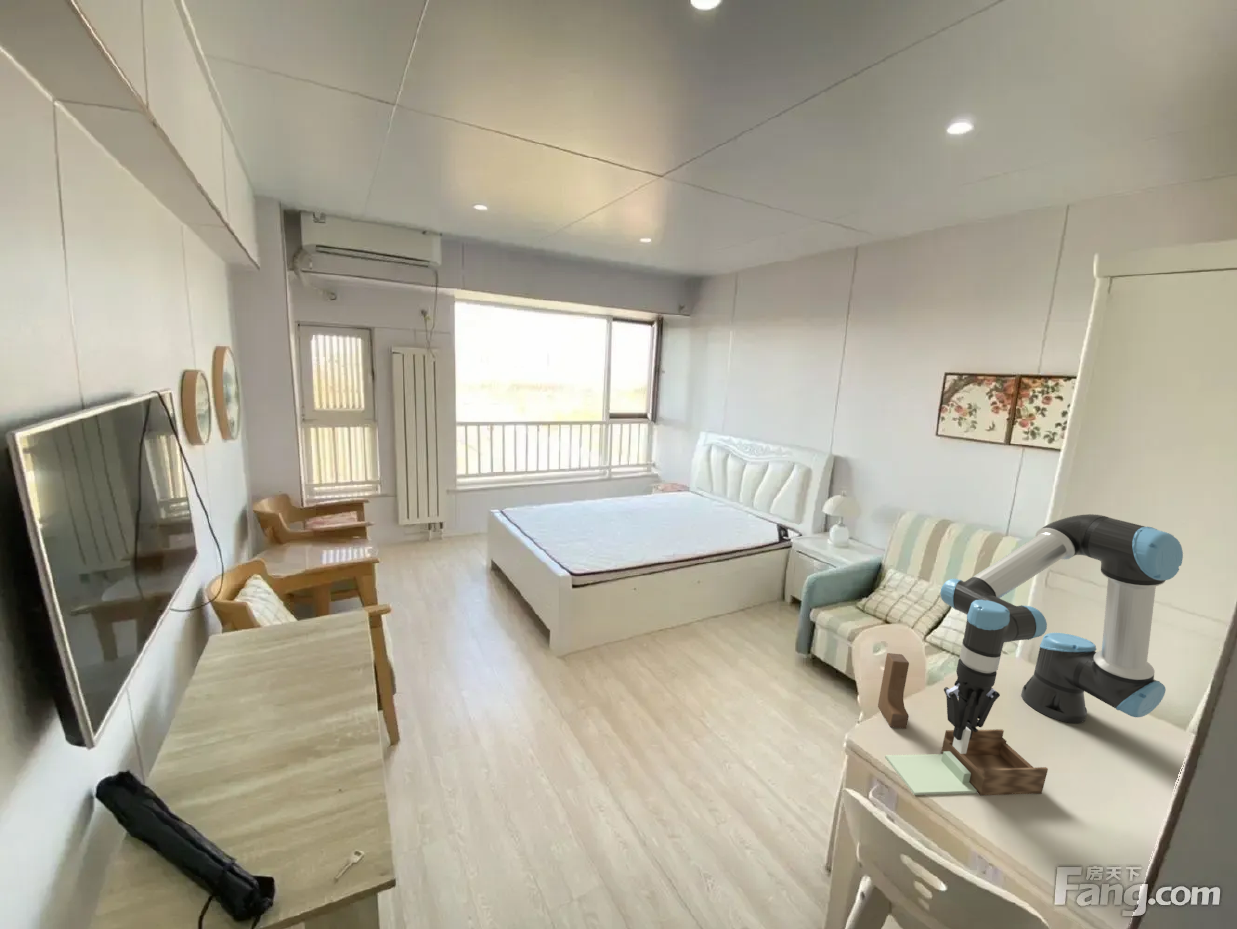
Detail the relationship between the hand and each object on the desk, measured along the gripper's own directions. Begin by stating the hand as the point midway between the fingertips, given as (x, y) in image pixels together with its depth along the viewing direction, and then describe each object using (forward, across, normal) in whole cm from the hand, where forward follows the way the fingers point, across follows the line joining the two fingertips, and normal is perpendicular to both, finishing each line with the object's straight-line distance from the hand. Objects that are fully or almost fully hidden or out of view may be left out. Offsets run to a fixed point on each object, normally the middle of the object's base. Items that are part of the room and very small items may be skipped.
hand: (959, 749), depth 122 cm
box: (+7, -10, 0) cm, 12 cm away
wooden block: (+7, +4, -20) cm, 22 cm away
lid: (+8, +7, 0) cm, 10 cm away
